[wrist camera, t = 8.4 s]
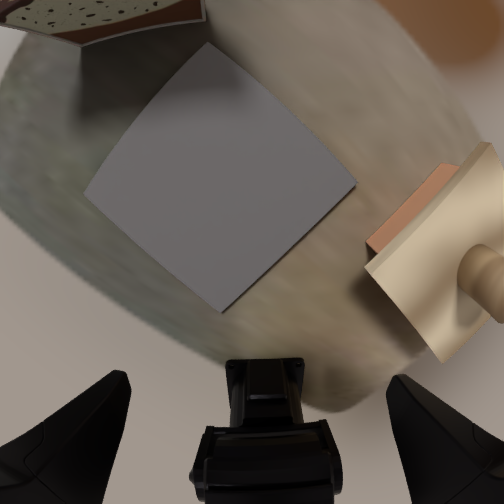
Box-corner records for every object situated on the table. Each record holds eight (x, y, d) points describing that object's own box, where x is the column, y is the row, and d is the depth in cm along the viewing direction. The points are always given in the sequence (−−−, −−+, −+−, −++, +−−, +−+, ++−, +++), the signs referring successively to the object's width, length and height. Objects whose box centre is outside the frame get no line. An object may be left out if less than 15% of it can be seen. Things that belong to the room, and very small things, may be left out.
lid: (526, 258, 15) (565, 284, 11) (436, 356, 18) (466, 399, 13) (480, 141, 12) (539, 150, 8) (364, 267, 15) (402, 316, 11)
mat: (354, 180, 18) (357, 182, 18) (221, 308, 21) (220, 313, 21) (208, 44, 15) (207, 41, 14) (87, 192, 18) (83, 194, 18)
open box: (482, 240, 19) (515, 259, 15) (418, 308, 22) (443, 338, 17) (441, 162, 17) (479, 171, 13) (365, 241, 20) (391, 267, 15)
